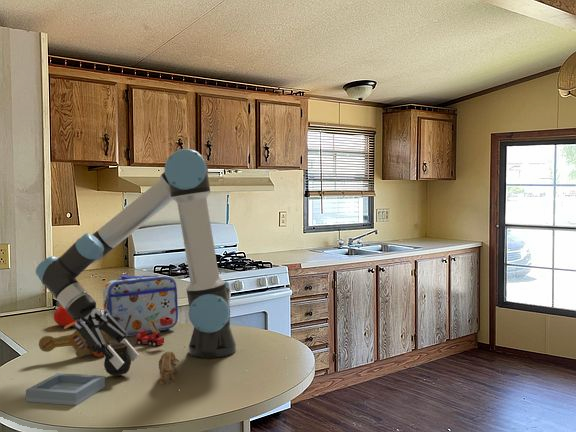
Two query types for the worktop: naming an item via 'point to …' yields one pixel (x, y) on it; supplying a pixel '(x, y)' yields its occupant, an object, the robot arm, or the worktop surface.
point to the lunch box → (141, 301)
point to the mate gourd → (123, 354)
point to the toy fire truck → (154, 337)
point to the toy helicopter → (70, 342)
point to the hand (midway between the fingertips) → (128, 362)
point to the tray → (65, 389)
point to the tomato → (63, 317)
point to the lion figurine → (167, 366)
